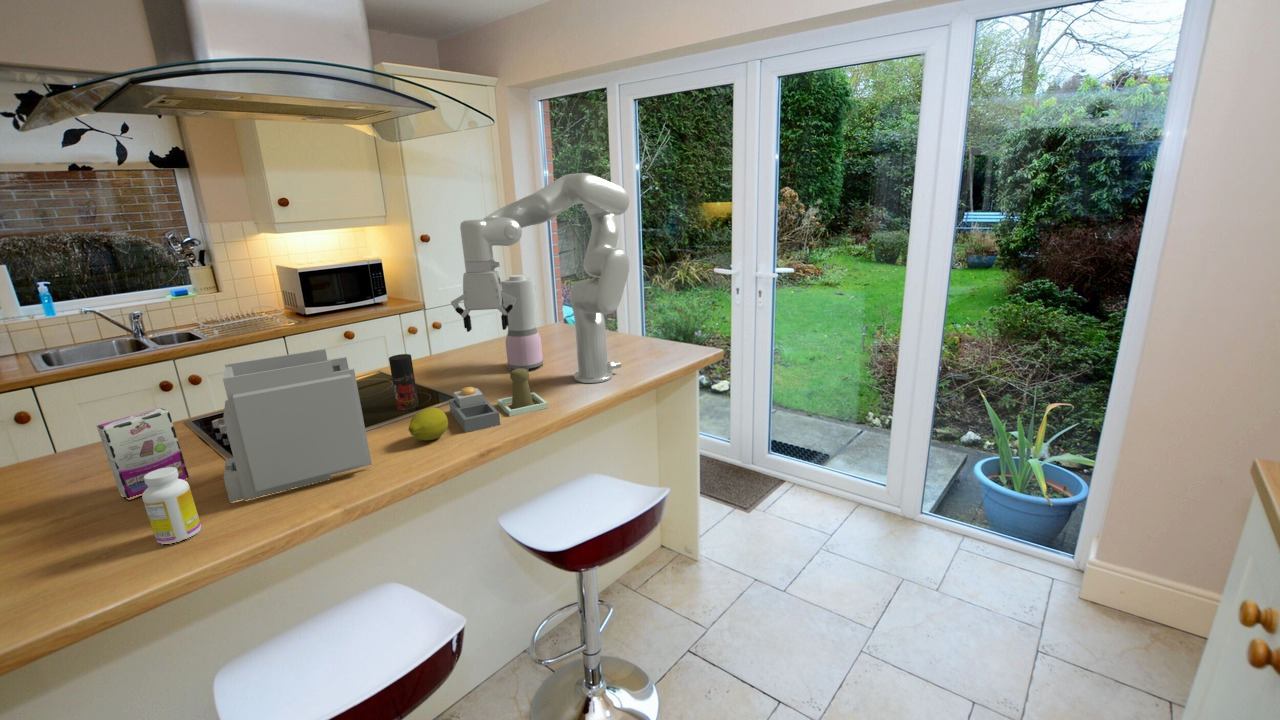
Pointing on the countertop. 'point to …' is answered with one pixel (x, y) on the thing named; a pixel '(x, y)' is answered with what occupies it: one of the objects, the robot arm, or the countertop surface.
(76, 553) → the countertop surface
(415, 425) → the lemon
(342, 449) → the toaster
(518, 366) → the blender
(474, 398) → the twin plug
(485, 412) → the grey hollow box
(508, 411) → the pale green square frame
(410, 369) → the deodorant
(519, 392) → the cork
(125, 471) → the candy bar box
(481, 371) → the countertop surface
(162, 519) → the supplement bottle
